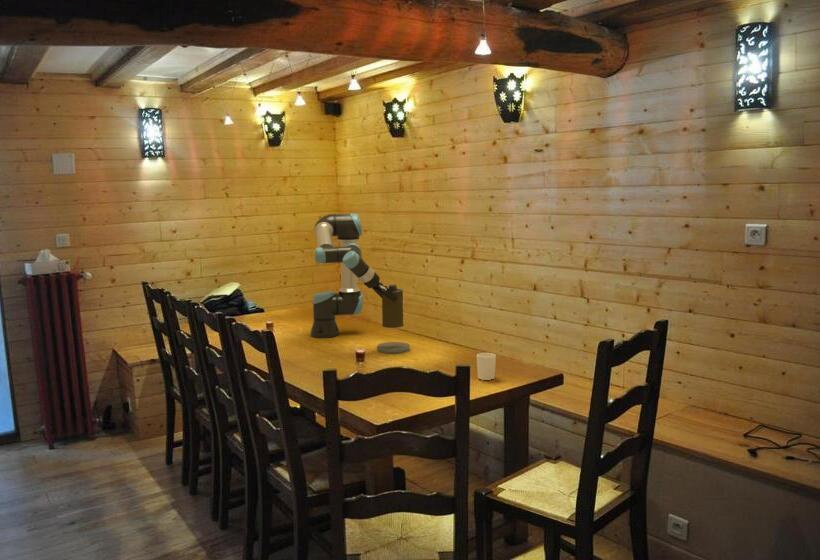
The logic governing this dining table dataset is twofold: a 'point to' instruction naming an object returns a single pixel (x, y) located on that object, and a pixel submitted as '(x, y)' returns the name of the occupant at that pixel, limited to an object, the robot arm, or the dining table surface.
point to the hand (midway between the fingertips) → (399, 308)
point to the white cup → (486, 365)
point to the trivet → (393, 347)
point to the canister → (392, 309)
